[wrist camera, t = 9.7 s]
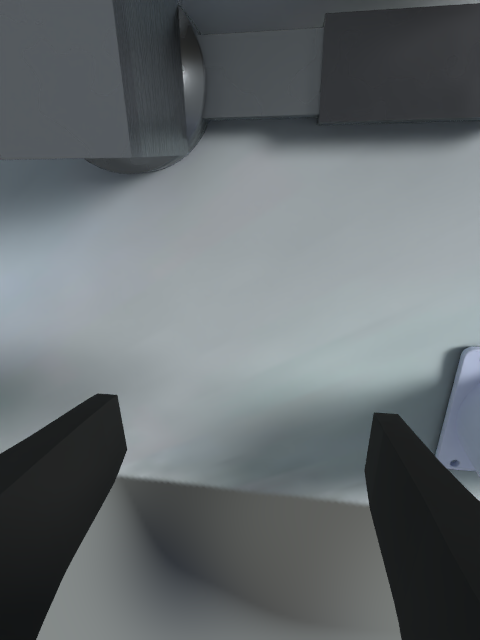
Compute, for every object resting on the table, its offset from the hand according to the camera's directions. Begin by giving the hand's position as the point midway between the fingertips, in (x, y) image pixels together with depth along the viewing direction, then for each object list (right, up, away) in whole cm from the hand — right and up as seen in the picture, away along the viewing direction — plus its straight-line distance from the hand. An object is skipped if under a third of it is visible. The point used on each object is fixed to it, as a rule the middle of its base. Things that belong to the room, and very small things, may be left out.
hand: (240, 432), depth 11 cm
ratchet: (+2, +13, +5) cm, 14 cm away
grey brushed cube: (-5, +13, +4) cm, 14 cm away
